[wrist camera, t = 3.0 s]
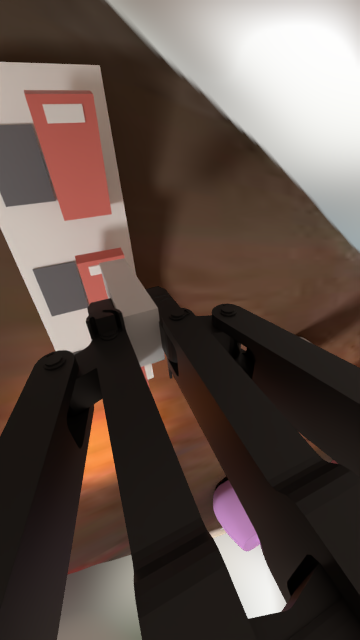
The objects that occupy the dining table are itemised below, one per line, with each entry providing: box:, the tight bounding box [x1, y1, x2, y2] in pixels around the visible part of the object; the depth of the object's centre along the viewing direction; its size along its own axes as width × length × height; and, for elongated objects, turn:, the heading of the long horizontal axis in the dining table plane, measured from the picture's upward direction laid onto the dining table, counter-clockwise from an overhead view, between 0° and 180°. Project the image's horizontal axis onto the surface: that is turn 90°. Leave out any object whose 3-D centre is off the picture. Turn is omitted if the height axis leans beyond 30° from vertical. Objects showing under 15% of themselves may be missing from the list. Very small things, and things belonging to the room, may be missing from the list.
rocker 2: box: [75, 248, 125, 304], centre depth 21 cm, size 3×7×1 cm, turn 4°
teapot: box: [213, 480, 262, 551], centre depth 67 cm, size 23×21×15 cm
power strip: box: [0, 62, 154, 379], centre depth 25 cm, size 9×35×5 cm, turn 4°
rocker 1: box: [24, 90, 112, 221], centre depth 16 cm, size 3×7×1 cm, turn 4°
